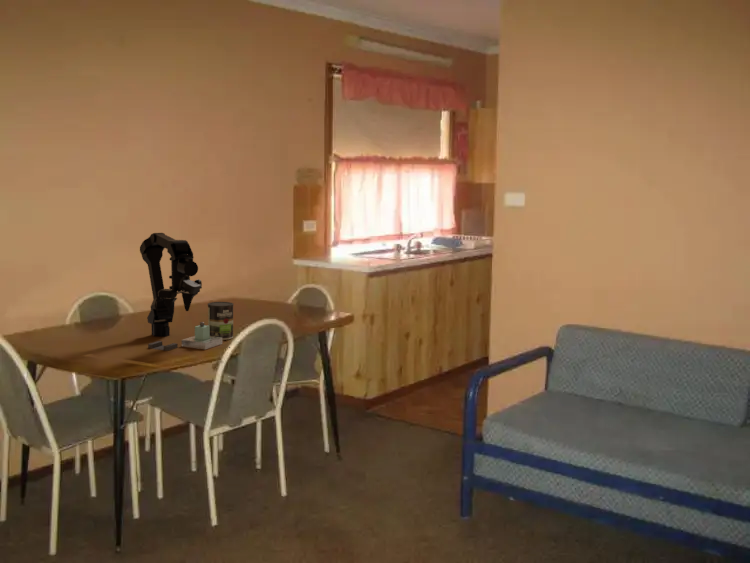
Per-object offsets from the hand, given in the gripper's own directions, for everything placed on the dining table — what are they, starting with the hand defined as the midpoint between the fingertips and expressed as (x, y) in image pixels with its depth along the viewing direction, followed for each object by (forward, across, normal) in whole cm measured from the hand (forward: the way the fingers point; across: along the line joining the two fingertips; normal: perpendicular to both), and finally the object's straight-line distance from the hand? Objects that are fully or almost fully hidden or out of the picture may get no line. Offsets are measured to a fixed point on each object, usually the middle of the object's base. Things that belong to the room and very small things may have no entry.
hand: (179, 313), depth 315 cm
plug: (+13, +2, -9) cm, 16 cm away
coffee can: (+13, +20, -5) cm, 24 cm away
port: (+13, +2, -9) cm, 16 cm away
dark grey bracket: (+13, -9, +1) cm, 16 cm away
